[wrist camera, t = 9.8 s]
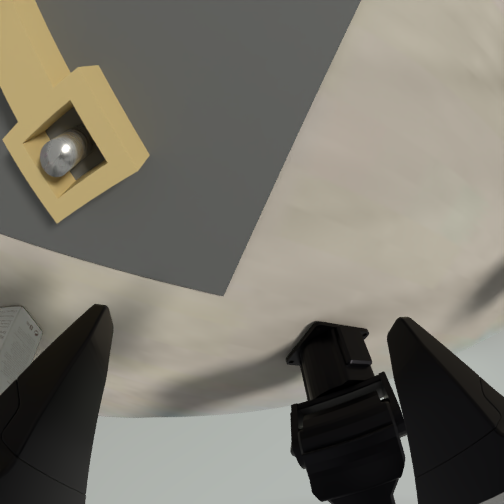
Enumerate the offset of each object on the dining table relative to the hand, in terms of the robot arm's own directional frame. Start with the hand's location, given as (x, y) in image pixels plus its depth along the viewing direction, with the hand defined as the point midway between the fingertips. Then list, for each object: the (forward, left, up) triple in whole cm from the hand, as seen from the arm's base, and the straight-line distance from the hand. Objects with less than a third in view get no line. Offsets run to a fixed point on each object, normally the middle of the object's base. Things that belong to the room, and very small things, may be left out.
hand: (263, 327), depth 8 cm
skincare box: (-21, +18, -11) cm, 30 cm away
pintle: (0, +10, -11) cm, 15 cm away
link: (+3, +14, -11) cm, 18 cm away
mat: (+3, +11, -11) cm, 16 cm away
